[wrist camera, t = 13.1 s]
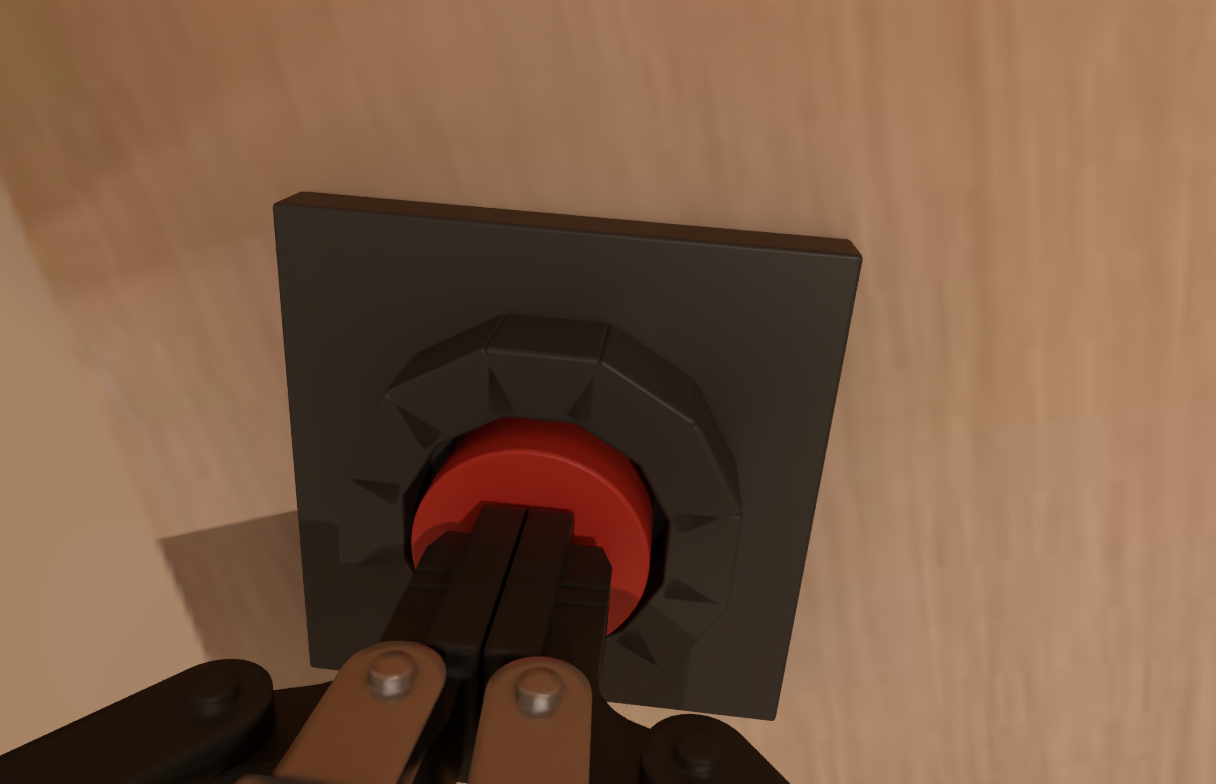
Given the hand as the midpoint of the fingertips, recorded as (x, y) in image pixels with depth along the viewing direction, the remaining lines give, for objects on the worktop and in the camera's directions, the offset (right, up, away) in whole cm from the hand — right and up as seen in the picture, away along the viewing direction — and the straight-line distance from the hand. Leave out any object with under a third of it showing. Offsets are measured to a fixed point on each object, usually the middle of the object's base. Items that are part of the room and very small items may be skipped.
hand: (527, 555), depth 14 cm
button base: (0, +1, +3) cm, 4 cm away
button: (0, +1, +2) cm, 2 cm away
